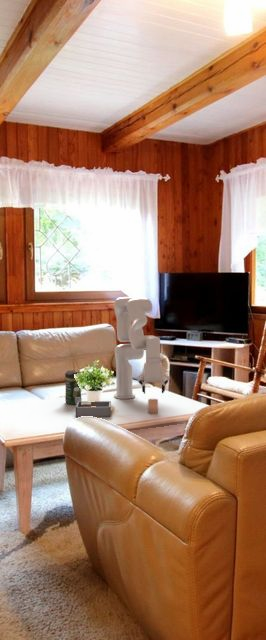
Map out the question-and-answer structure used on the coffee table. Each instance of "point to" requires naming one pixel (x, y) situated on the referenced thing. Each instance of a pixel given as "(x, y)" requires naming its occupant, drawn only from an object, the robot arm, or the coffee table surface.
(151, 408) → the terracotta cylinder
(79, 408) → the tote
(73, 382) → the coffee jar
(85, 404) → the walnut cube
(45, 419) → the coffee table surface
